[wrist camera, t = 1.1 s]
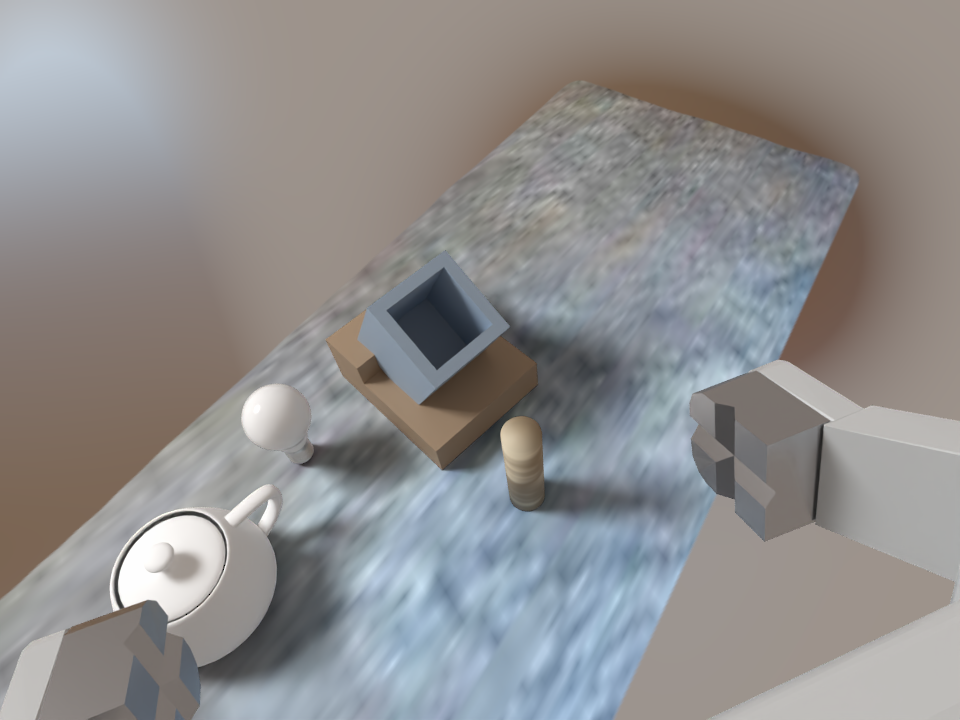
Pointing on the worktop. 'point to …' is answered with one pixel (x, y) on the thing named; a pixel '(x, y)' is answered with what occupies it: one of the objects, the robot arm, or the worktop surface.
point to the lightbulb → (279, 421)
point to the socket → (435, 360)
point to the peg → (523, 462)
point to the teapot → (204, 572)
